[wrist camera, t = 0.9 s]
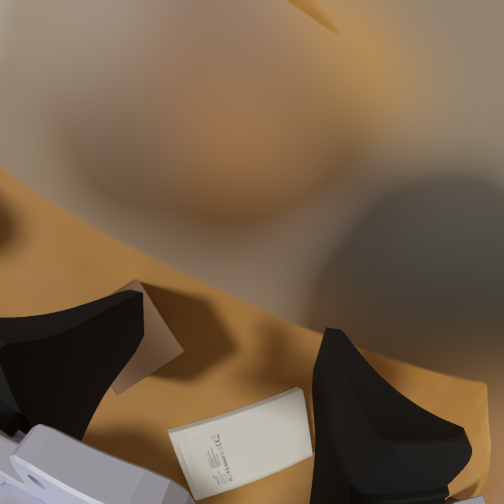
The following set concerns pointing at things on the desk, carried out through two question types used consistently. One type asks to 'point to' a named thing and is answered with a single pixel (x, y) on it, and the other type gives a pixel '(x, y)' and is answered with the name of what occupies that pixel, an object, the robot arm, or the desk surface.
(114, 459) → the robot arm
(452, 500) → the can
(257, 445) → the external hard drive
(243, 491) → the desk surface
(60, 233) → the desk surface
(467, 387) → the desk surface
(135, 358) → the walnut block
